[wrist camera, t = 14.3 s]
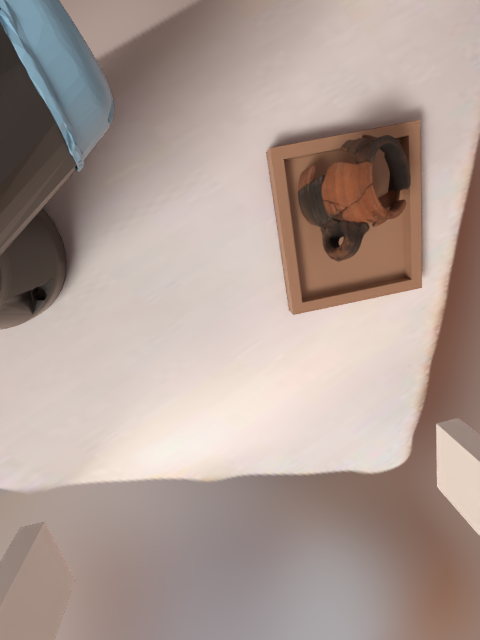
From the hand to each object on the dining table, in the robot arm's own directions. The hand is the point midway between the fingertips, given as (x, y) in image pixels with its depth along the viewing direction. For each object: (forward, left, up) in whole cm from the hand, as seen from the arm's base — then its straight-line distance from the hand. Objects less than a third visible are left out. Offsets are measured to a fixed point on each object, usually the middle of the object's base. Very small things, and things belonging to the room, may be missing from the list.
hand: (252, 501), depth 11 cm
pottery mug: (+15, +8, -28) cm, 33 cm away
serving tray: (+16, +6, -29) cm, 33 cm away
